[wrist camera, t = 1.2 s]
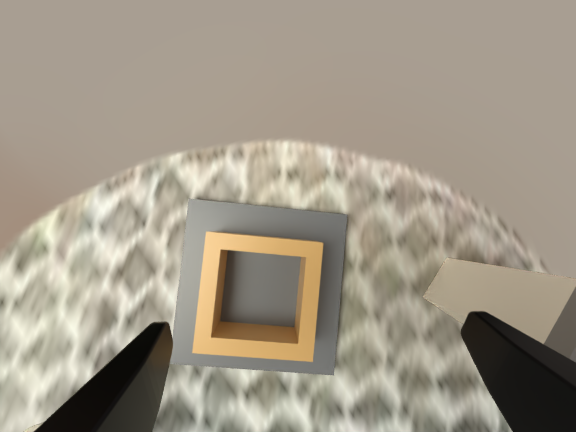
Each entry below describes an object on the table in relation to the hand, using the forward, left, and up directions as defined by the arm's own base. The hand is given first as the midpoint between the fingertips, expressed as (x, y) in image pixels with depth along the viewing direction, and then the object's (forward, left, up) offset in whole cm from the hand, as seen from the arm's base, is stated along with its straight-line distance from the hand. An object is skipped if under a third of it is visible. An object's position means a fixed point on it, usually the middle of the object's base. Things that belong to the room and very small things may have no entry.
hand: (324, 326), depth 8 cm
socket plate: (-2, +2, -17) cm, 17 cm away
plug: (-1, -16, -17) cm, 23 cm away
